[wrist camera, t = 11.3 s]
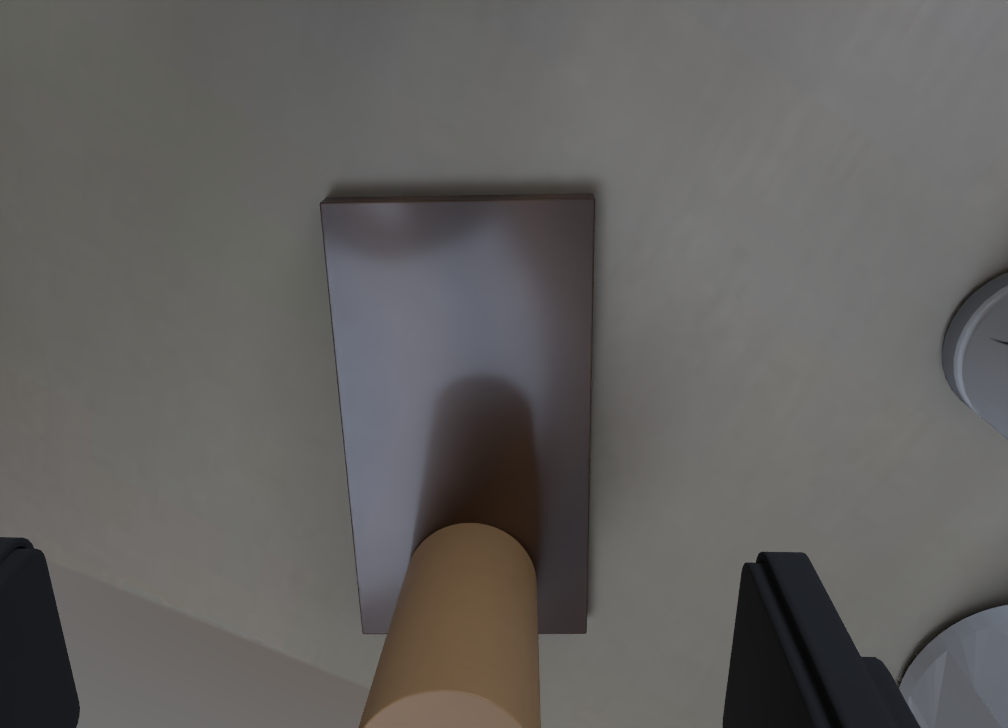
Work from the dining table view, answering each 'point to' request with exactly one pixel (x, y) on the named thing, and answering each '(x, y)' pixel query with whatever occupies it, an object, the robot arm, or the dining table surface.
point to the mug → (962, 675)
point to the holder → (465, 382)
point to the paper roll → (461, 637)
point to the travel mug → (981, 353)
